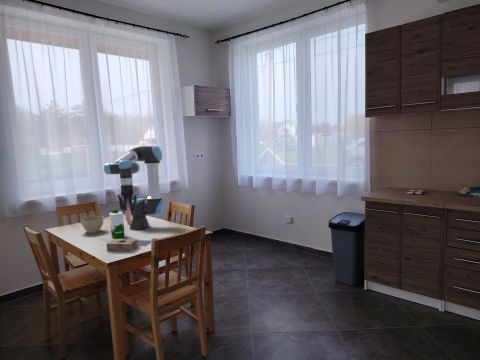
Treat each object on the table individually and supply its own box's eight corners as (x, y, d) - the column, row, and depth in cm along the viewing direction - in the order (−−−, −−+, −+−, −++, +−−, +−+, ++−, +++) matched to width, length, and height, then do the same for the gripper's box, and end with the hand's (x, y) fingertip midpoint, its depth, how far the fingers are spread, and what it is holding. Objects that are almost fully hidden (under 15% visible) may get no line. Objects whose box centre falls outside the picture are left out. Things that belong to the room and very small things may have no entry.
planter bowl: (96, 234, 251) (95, 220, 250) (77, 234, 254) (76, 220, 253) (108, 229, 267) (107, 215, 265) (90, 228, 270) (89, 215, 269)
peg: (128, 223, 220) (127, 208, 219) (132, 223, 219) (131, 208, 218) (126, 224, 217) (125, 209, 216) (130, 224, 216) (129, 209, 215)
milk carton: (122, 234, 250) (120, 208, 247) (126, 237, 242) (124, 210, 240) (110, 236, 244) (108, 210, 242) (113, 239, 237) (111, 212, 235)
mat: (137, 240, 232) (137, 240, 232) (153, 241, 231) (153, 240, 231) (129, 246, 221) (129, 245, 221) (146, 246, 219) (146, 246, 219)
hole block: (115, 246, 222) (114, 238, 222) (137, 246, 220) (137, 239, 219) (107, 251, 213) (106, 243, 212) (130, 251, 210) (129, 244, 209)
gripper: (112, 185, 212) (115, 221, 215) (135, 185, 210) (138, 221, 213) (118, 183, 220) (121, 218, 223) (140, 183, 218) (143, 218, 220)
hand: (129, 220), depth 218 cm, fingers closed on peg, 2 cm apart
